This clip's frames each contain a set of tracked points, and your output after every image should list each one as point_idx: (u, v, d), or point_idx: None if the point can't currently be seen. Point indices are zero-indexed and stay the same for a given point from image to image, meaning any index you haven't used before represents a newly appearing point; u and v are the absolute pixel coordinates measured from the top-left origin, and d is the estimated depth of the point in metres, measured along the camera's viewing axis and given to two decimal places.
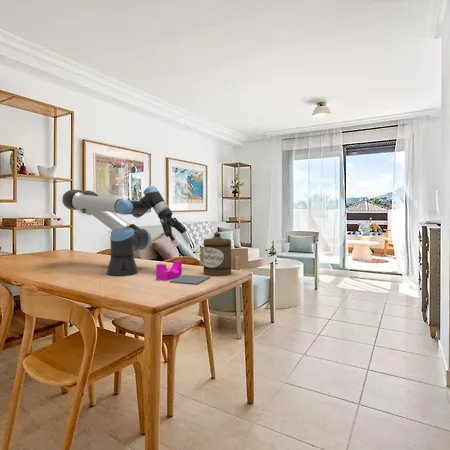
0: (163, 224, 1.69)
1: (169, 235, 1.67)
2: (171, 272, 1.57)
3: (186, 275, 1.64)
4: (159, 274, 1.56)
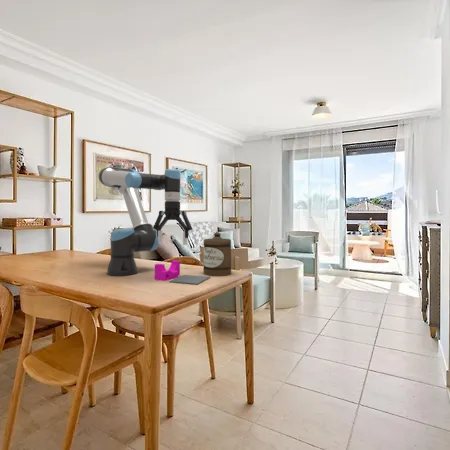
0: None
1: (157, 230, 1.63)
2: (169, 272, 1.57)
3: (186, 275, 1.64)
4: (157, 274, 1.56)
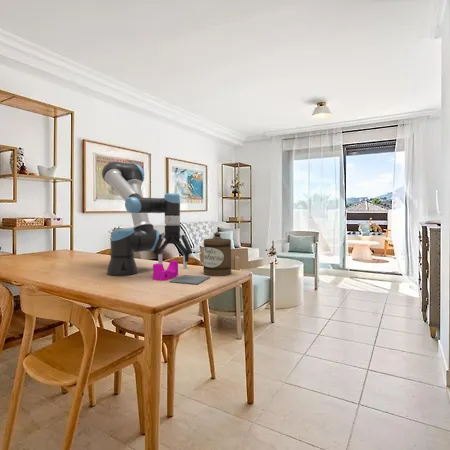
0: None
1: None
2: (168, 272, 1.57)
3: (186, 275, 1.64)
4: (156, 274, 1.56)
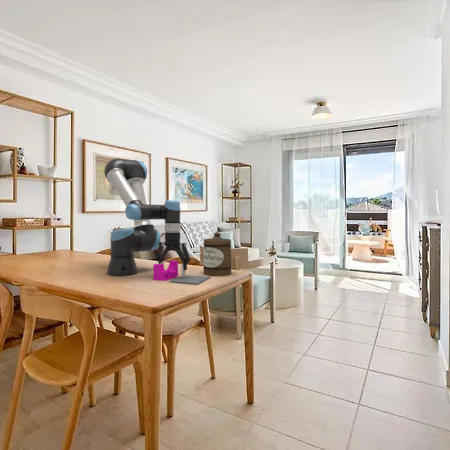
0: None
1: (159, 262, 1.64)
2: (168, 272, 1.57)
3: (186, 275, 1.64)
4: (156, 274, 1.55)
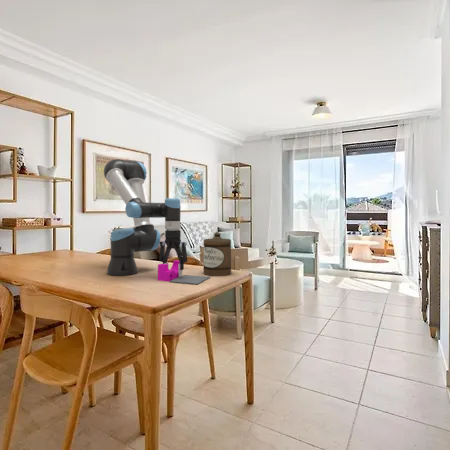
0: None
1: None
2: (173, 272, 1.56)
3: (186, 275, 1.64)
4: (161, 274, 1.54)
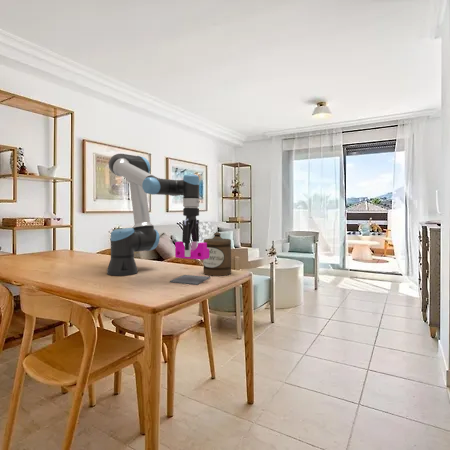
0: (184, 227, 1.49)
1: (186, 243, 1.50)
2: None
3: (186, 275, 1.64)
4: (205, 253, 1.51)
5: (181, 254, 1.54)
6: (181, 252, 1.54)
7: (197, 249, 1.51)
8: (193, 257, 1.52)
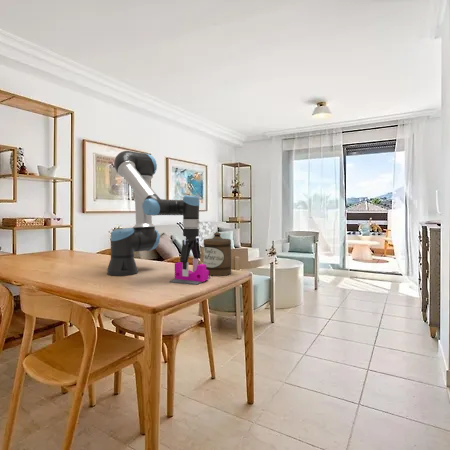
0: (183, 247, 1.49)
1: (183, 262, 1.49)
2: None
3: None
4: (204, 274, 1.52)
5: (180, 275, 1.55)
6: (180, 273, 1.55)
7: (196, 271, 1.51)
8: (192, 279, 1.52)
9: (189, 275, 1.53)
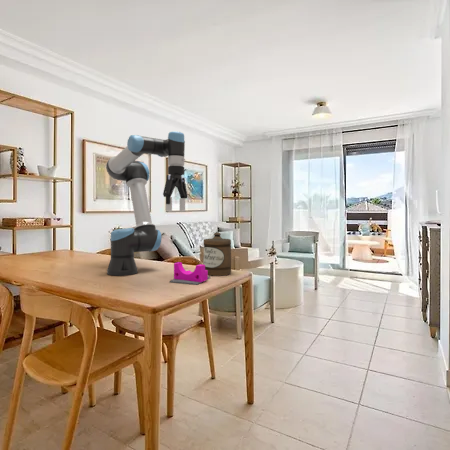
0: (168, 181, 1.45)
1: (167, 197, 1.45)
2: None
3: None
4: (203, 275, 1.51)
5: (179, 276, 1.54)
6: (179, 274, 1.54)
7: (195, 271, 1.50)
8: (191, 279, 1.51)
9: (188, 275, 1.52)
